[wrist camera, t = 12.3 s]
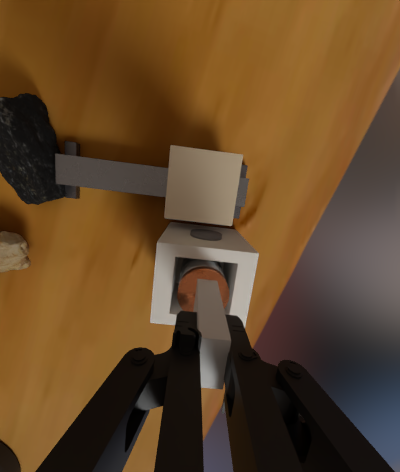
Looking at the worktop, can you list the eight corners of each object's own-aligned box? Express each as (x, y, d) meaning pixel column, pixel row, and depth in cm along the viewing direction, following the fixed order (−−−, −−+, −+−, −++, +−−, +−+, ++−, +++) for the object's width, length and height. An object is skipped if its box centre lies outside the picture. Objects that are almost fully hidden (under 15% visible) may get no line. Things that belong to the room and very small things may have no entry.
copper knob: (179, 283, 23) (174, 316, 17) (183, 246, 22) (180, 268, 16) (217, 287, 23) (225, 321, 17) (223, 250, 22) (233, 273, 17)
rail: (69, 197, 26) (55, 198, 23) (68, 142, 24) (55, 137, 22) (237, 217, 27) (241, 220, 24) (245, 166, 25) (251, 163, 23)
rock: (23, 209, 26) (-25, 215, 20) (-15, 117, 24) (-80, 95, 18) (80, 195, 26) (48, 198, 20) (48, 101, 24) (2, 74, 18)
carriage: (169, 213, 26) (147, 238, 14) (175, 151, 25) (156, 115, 12) (219, 219, 26) (242, 249, 14) (228, 158, 25) (262, 131, 12)
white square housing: (165, 275, 28) (150, 322, 18) (170, 218, 27) (157, 237, 17) (227, 282, 29) (244, 331, 19) (236, 226, 27) (259, 248, 17)
